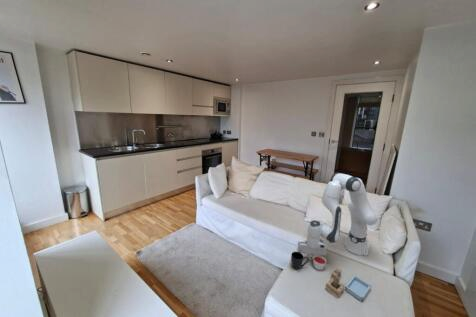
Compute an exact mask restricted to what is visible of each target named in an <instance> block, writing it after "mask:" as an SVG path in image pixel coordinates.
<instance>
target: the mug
mask: <svg viewBox="0 0 476 317" xmlns="http://www.w3.org/2000/svg"><path fill="white" fill-rule="evenodd" d="M290 256H291V257H290V261H291V262H290V263H291V265H292V266H291V267H292V268H293V269H294V270H296V271H297V270H300V269H301V268H302V267H304V266H305V265H306V264H307V263H308V262H309V259H310V258H309V257H308V256H304V255H303V253H300V252H298V251H292V253H291V255H290ZM304 259H306V261H305V262H304Z"/></svg>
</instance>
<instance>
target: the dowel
mask: <svg viewBox="0 0 476 317" xmlns="http://www.w3.org/2000/svg"><path fill="white" fill-rule="evenodd" d="M339 282H340V278H339V276H337V275H335V276H334V280H333V287H335V288H336V289H338V284H339Z"/></svg>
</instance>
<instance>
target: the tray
mask: <svg viewBox="0 0 476 317" xmlns="http://www.w3.org/2000/svg"><path fill="white" fill-rule="evenodd" d="M344 286H345V288H344V292H345V293H348V294H350V295H351V296H353V298H355V299H356V300H358V301H359V302H361V303H363V301H364V300H365V298H366V297H367V296H368V294H369V292H370V291H371V287H372V285H371V284H369V283H367V282H366V281H364V280H363V279H361V278H359V277H358V276H356V274H355V275H353V277H351V279H350V280H349V281H348V283H347V284H346V285H344Z"/></svg>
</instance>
